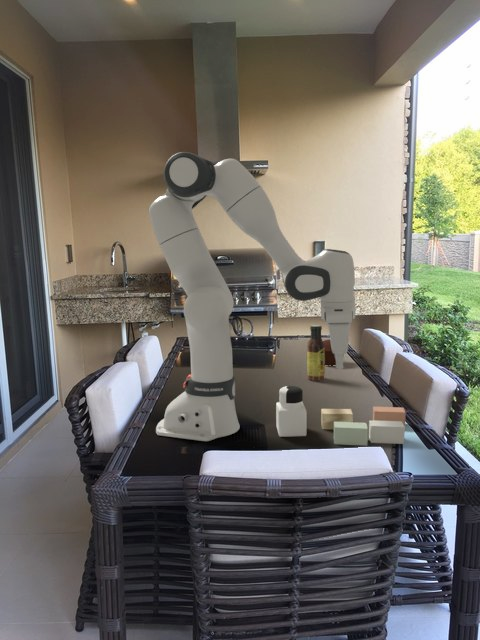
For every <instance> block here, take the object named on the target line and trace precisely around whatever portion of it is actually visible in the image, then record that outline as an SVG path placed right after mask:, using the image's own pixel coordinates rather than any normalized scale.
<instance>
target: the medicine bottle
mask: <svg viewBox="0 0 480 640" xmlns="http://www.w3.org/2000/svg"><path fill="white" fill-rule="evenodd" d="M278 395H279V399H278V400H279V401H277V402H276V404H275V406H276V407H275V410H276V412H275V419H276V421H275V422H276V423H275V424H276V429H277V433H278V437H279V438H281V437H282V438H283V437H284V438H287V437H306V436H307V426H308V425H307V422H308V421H307V417H308V416H307V415H308V413H307V411H308V410H307V409H306V407H305V405H304V403H303V396H304V395H303V389H302V388H301V387H299V386H295V385H285V386H282V387H281V388H280V389H279V393H278Z"/></svg>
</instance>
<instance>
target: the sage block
mask: <svg viewBox="0 0 480 640" xmlns="http://www.w3.org/2000/svg"><path fill="white" fill-rule="evenodd" d="M368 439H369V427H368V424H367V422H334V429H333V444H334V445H345V446H346V445H347V446H366V447H367V446H368Z"/></svg>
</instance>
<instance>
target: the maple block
mask: <svg viewBox="0 0 480 640" xmlns="http://www.w3.org/2000/svg"><path fill="white" fill-rule="evenodd" d="M320 412H321V413H320V414H321V415H320V416H321V417H320V424H321V425H320V426H321V430H334V422H353V421H354V420H353V419H354V414H353V411H352V408H321V409H320Z"/></svg>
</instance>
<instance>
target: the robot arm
mask: <svg viewBox="0 0 480 640" xmlns="http://www.w3.org/2000/svg"><path fill="white" fill-rule="evenodd" d="M163 180H164V183H165V186H166V187H167V189H166V192H165V193H164V194H163V195H161V196H159V197H157V198H156V199H154V201H152V203H151V205H150V206H149V209H148V215H149V219H150V223H151V226H152V227H151V228H152V230H153V232H154V233H153V234H154V236H155V238H156V239H155V240H156V241H157V244H158V246H159V248H160V250H161V252H162V255H163V256H164V259H165V261H166V262H167V265H168V268H169V270H170V272H171V274H172V275H173V277H174V278H175V280H177V281H178V283H179V284H180V286H181V287H182V290H183V291H184V293H185V294H186V296H187V297H186V299H185V301H184V305H183V316H184V319H185V324H186V325H185V326H186V327H185V328H186V332H187V333H186V334H187V337H188V338H187V339H188V344H189V352H190V372H191V373H190V374H188V376H186V379H185V380H184V381H183V382H184V383H183V384H182V385H183V386H182V387H183V389H184V391H183V392H182V393H181V394H179V395H178V396H177V397H176V398H174V399H173V400H172V401H170V403H169V404H168V405H167V407H166V408H165V412H164V418H163V419H161V420H160V421H159V422H158V423H157V425H156V427H155V433H156V434H157V436H162V437H170V438H177V439H185V440H193V441H199V442H200V441H201V442H209V441H210V442H211V441H212V440H215V439H218V438H222V437H227V436H230V435H232V434H235V433H237V432H238V431H239V430H240V423H239V420H238V416H237V411H236V405H235V396H236V383H235V376H234V374H233V373H234V372H233V370H234V369H233V348H232V347H233V346H232V341H231V333H230V322H229V320H230V319H229V318H230V315H231V314H232V313H233V310H234V305H235V304H234V301H235V300H234V297H233V294H232V292H231V290H230V288H229V287H228V284H227V283H226V279H224V277H223V275H222V273H221V272H220V270H219V267H218V266H217V264H216V263H215V261H214V259H213V258H212V256H211V253H210V251H209V248H208V247H207V244H206V242H205V239H204V237H203V235H202V233H201V231H200V228H199V226H198V223H197V222H196V219H195V217H194V214H193V209H195V207H196V206H198V204H200V202H203V200H204V199H205V198H206V197H208V196H209V197H211V198H213V199H215V201H217V202H218V204H219V205H220V206H221V207H222V209H223V211H224V212H225V213H226V215H227V216H228V217H229V218H230V220H231V221H232V222H233V224H234V225H236V226H237V227H238V228H239V229H240V230H241V231H242V232H243V233H244V234H245V235H247V236H249V237H250V238H252V239H253V240H255V242H257V243H259V245H261V246H262V247H263V249H264V250H265V251H266V253H267V254H268V255H269V256H270V258H271V260H272V261H273V262H274V263H275V265H276V266H277V268H278V270H279V271H280V273H281V277H282V283H283V286H284V288H285V290H286V292H287V294H288V295H289V296H290V297H291V298H292V299H294V300H295V301H299V302H307V301H310V300H314V299H319V298H320V319H321V320H323V321H325V325H326V326H327V327H328V331H329V332H328V333H329V339H330V341H331V348H332V352H333V354H335V359H336V366H335V368H336V369H343V368H344V358H345V356H344V355H345V354H347V353H348V349H349V342H350V341H349V340H350V331H351V324H352V323H353V320H354V319H356V296H355V294H354V293H355V292H354V288H355V283H356V282H355V281H356V279H355V278H356V277H355V276H356V275H355V273H356V272H355V265H354V259H353V257H352V255H351V253H349V252H347V251H345V250H339V249H332V248H325V249H322V251H320V252H319V253H318V254H316V255H315V256H313V257H312V258H310V259H308V260H304V259H302V258H301V257H300V256H299V255H298V254H297V252H296V251H295V249H294V248H293V247H292V245H291V244H290V242H289V241H288V240H287V238H286V237H285V235H284V234H283V232H282V231H281V228H280V226H279V223H278V220H277V215H276V211H275V209H274V206H273V205H272V202H271V200H270V199H269V197H268V195H267V193H266V192H265V190H264V189H263V186H261V185H260V183H259V182H258V180H257V179H256V178H255V177H254V175H252V173H251V172H250V170H248V169H247V168H246V167H245V166H244V165H243V164H242V163H241V162H240V161H239V160H237V159H236V158H225V159H223V160H220V161H219V162H217V163H216V164H214V163H213V162H212V161H210V160H207V159H206V158H203V157H201V156H200V155H198V154H195V153H192V152H190V151H189V152H188V151H187V152H186V151H180V152H177V153H175V154H172V156H171V157H169V158H168V160H167V161H166V163H165V166H164V169H163Z"/></svg>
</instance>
